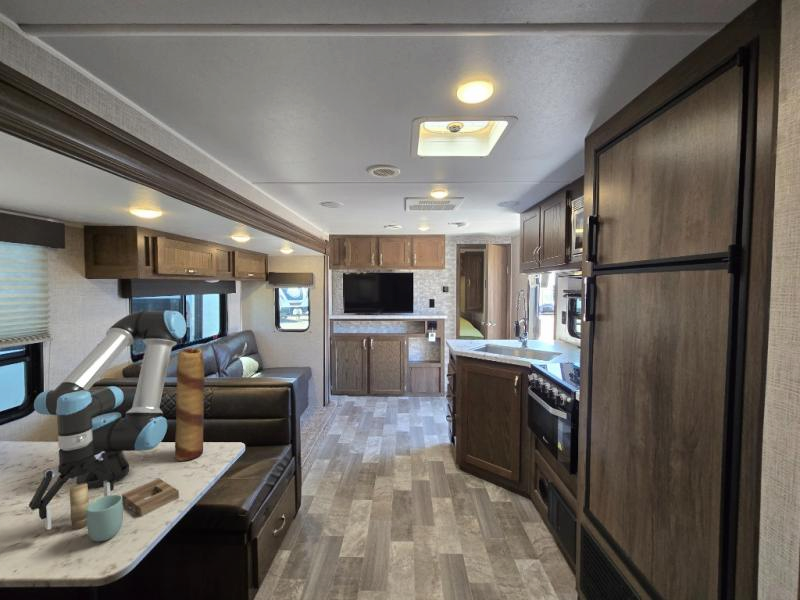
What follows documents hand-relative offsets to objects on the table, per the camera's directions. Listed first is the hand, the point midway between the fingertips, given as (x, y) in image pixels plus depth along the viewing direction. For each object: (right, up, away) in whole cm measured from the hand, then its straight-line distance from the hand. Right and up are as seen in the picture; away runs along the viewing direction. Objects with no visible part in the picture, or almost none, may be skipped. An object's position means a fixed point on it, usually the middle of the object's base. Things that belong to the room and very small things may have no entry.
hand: (79, 514), depth 104 cm
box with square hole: (+12, -3, +13) cm, 18 cm away
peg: (0, -4, 0) cm, 4 cm away
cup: (+11, -4, -4) cm, 13 cm away
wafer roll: (+8, -1, +42) cm, 43 cm away
